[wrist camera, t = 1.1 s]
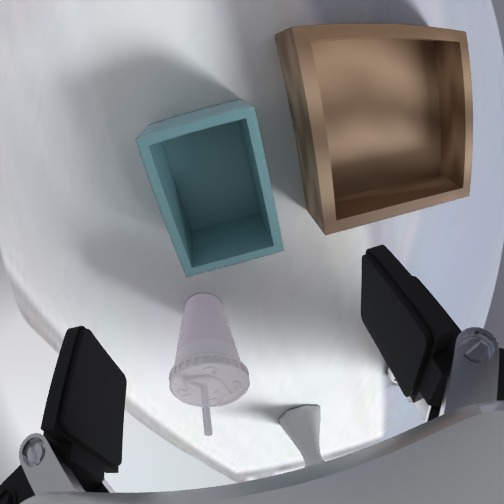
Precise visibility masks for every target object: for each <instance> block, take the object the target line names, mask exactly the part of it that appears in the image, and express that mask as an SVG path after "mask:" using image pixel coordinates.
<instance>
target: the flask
mask: <svg viewBox="0 0 504 504" xmlns="http://www.w3.org/2000/svg"><path fill="white" fill-rule="evenodd" d="M320 419H321V411H320V406H309V405H305V406H301V407H298V408H294V409H291V410H287V411H286V412H285V413H284V414H283V415H282V416H281V417H280V418H279V422H280V425H281V427H282V428H283V429H284V431H285V432H286V433H287V435H288V436H289V437H290V438H291V440H292V441H293V442H294V444H295V445H296V446H297V448H298V449H299V450H300V452H301V454H302V456H303V458H304V460H305V464H306V466H305V468H306V467H310V466H313V465H317V464H320V463H323V462H325V461H324V460H322V458H321V454H320V448H319V434H320Z"/></svg>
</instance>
